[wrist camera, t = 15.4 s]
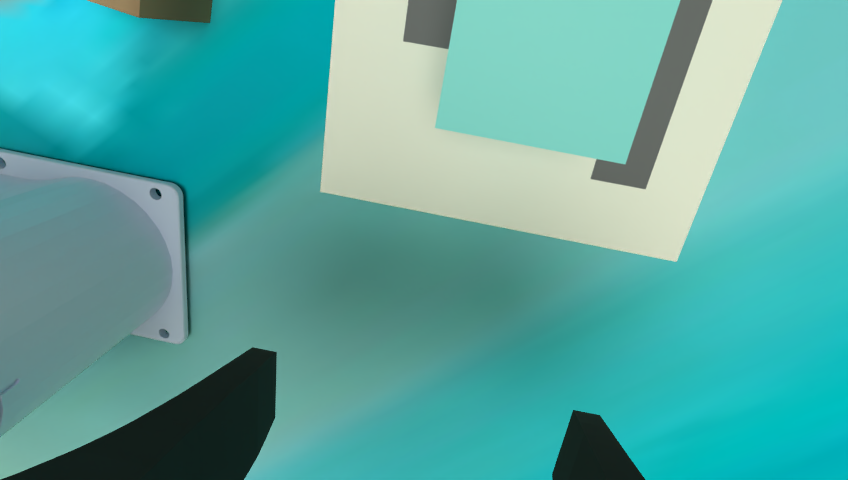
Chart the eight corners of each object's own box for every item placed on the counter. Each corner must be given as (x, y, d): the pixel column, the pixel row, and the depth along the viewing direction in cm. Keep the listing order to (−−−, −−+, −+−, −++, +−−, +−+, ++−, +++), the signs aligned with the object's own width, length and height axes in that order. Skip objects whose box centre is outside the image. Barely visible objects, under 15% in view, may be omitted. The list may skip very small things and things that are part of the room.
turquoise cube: (450, 105, 17) (434, 127, 13) (479, -55, 15) (473, -96, 11) (589, 132, 17) (624, 164, 12) (637, -28, 15) (700, -59, 11)
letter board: (325, 187, 20) (320, 191, 19) (362, -262, 14) (356, -275, 14) (671, 255, 19) (676, 261, 18) (849, -194, 14) (864, -205, 13)
